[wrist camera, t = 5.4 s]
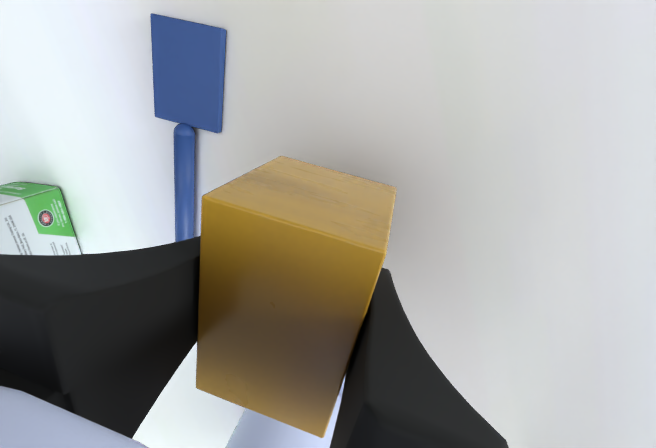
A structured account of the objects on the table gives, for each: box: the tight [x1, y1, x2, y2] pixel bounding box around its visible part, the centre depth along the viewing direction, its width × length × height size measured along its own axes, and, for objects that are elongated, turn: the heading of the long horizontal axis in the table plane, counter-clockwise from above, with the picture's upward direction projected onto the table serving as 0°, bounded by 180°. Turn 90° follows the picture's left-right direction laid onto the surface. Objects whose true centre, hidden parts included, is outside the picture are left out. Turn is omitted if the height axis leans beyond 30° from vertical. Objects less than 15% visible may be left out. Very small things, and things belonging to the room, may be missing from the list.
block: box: [196, 156, 397, 438], centre depth 11 cm, size 7×4×5 cm, turn 168°
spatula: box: [151, 14, 226, 242], centre depth 20 cm, size 15×4×1 cm, turn 168°
